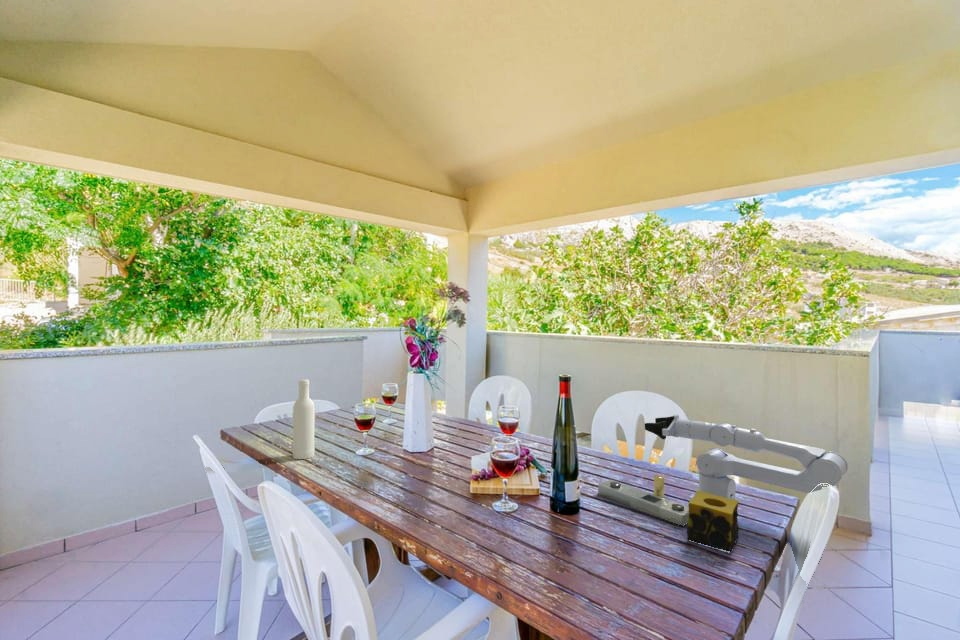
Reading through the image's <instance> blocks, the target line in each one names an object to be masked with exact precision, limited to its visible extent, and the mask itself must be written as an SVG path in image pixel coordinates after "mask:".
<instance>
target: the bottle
mask: <svg viewBox="0 0 960 640" xmlns="http://www.w3.org/2000/svg"><path fill="white" fill-rule="evenodd" d="M298 381H299V382H298V399H296V401H295V402H294V404H293V406H292V458H293V459H294V460H297V459H304V460H308V459H307V458H309V459H312V458H313V457H314V456H315V449H316V447H315V422H316V421H315V417H316V416H315V413H316V411H315V410H316V409H315V407H316V406H315V403H314V401H313V400H312V399H311V397H310V380H309V379H300V380H298ZM311 457H312V458H311Z"/></svg>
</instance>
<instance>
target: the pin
mask: <svg viewBox="0 0 960 640" xmlns="http://www.w3.org/2000/svg"><path fill="white" fill-rule="evenodd" d="M653 494H654V495H657V496H660V497H663V498H665V476H663V475H657V474H655V475H654V476H653Z"/></svg>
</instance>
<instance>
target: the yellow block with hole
mask: <svg viewBox="0 0 960 640" xmlns="http://www.w3.org/2000/svg"><path fill="white" fill-rule="evenodd" d="M688 507H689V511H688V512H689V515H688V524H687V525H686V526H687V527H686V528H687V529H686V535H687V537H686V539H688V540H691V541H694V542H697V543H701V544H704V545H708V546H711V547H714V548H718V549H723V550H726V551H730V552H731V551H732V549H733V550H734V548H735V546H736V545H735V544H736V543H735V541H736V539H737V538H738V539H739V528H740V527H739V524H738V523H739V522H738V520H739V519H738V516H739V513H738V509H739V508H738V507H739V500H737V499H735V500H734V499H729V498H725V497H722V496H717V495H713V494H710V493H706V492H702V491H699V489H698V490H696V492H695V493H694V495H693V497H692V498H691V499H690V501H689V502H688ZM688 540H687V541H688ZM736 542H737V541H736ZM734 545H735V546H734ZM733 547H734V548H733ZM732 552H733V551H732Z"/></svg>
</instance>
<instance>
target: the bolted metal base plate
mask: <svg viewBox="0 0 960 640" xmlns="http://www.w3.org/2000/svg"><path fill="white" fill-rule="evenodd" d="M597 494H598V495H600V496H602V497H605V498H608V499H610V500H613V501H615V502H618V503H620V504H622V503H623V504H622V505H625V504H626V506H628V505H629V506H628V507H630V506H632V507H631V508H633V507H635V508H637V509H636V510H638V509H639V510H638V511H640V510H642V511H641V512H643V511H644V512H643V513H645V512H647V513H646V514H648V513H649V514H648V515H651V514H652V515H651V516H653V515H654V517H656V516H657V517H656V518H658V517H660V518H659V519H661V518H662V519H661V520H663V519H665V520H664V521H666V520H668V521H670V522H669V523H671V522H673V523H672V524H674V523H676V524H678V525H677V526H679V525H682V526H683V525H684V524H686V523H688V515H689V512H688V511H689V505H688V506H687V505H684V504H682V503H680V502H676V501H674V500H671V499H668V498H665V497H664V498H663V497H660V496H657V495H654V493H650V492H649V491H646V490H642V489H639V488H636V487H634V486H630V485H628V484H625V483H622V482H620V481H617V480H614V479H609V480H606V481H604V482H601V483H599V484H598V486H597ZM635 508H634V509H635ZM668 521H667V522H668ZM676 524H675V525H676ZM686 525H687V524H686ZM683 527H684V526H683Z"/></svg>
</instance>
